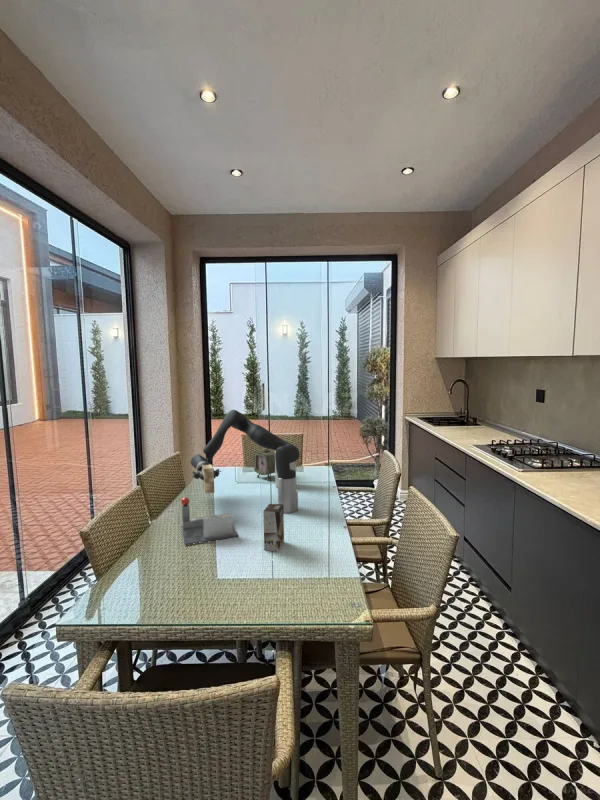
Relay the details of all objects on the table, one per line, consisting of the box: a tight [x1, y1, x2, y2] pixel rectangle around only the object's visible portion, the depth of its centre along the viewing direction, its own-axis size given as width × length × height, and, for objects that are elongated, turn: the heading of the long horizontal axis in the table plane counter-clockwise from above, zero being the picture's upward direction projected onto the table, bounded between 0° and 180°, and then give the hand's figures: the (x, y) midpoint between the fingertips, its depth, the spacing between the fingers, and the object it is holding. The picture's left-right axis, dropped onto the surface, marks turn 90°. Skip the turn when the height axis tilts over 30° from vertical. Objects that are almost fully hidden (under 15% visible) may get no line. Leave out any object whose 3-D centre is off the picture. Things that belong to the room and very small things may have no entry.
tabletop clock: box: [253, 447, 275, 482], centre depth 256 cm, size 14×9×25 cm, turn 43°
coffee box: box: [263, 503, 285, 552], centre depth 159 cm, size 9×6×16 cm
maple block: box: [202, 464, 215, 494], centre depth 191 cm, size 4×8×12 cm, turn 21°
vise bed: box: [180, 513, 239, 546], centre depth 173 cm, size 22×20×9 cm
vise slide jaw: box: [180, 496, 230, 529], centre depth 179 cm, size 21×4×14 cm, turn 111°
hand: (208, 477), depth 190 cm, fingers closed on maple block, 4 cm apart
